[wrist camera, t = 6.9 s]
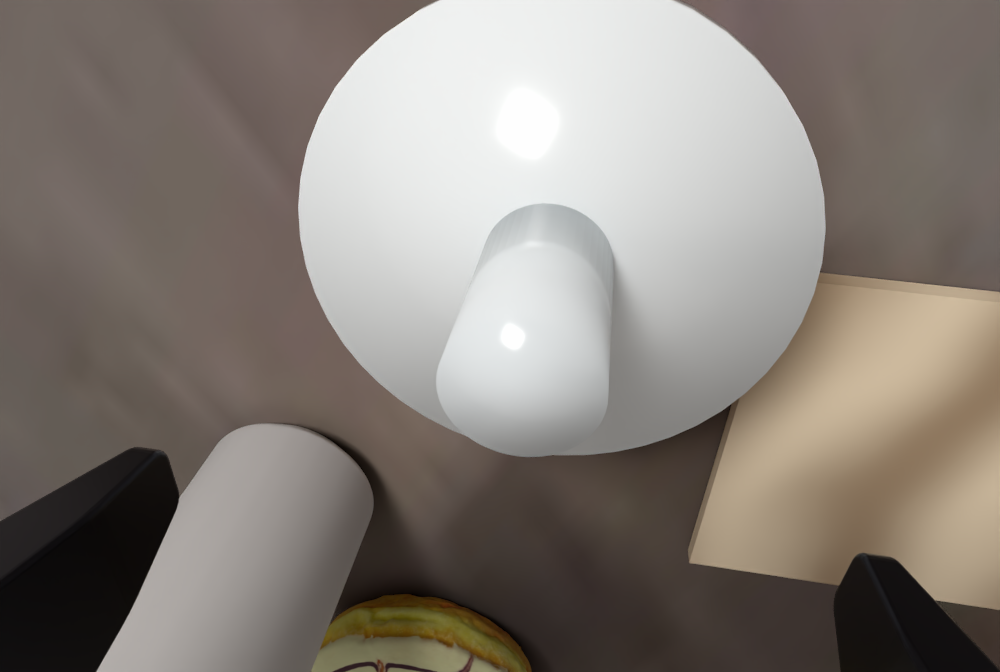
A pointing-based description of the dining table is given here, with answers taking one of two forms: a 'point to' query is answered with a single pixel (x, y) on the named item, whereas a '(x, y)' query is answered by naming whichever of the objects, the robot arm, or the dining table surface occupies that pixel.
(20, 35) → the dining table surface
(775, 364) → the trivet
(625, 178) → the lid
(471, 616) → the decorated donut
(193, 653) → the beverage can
